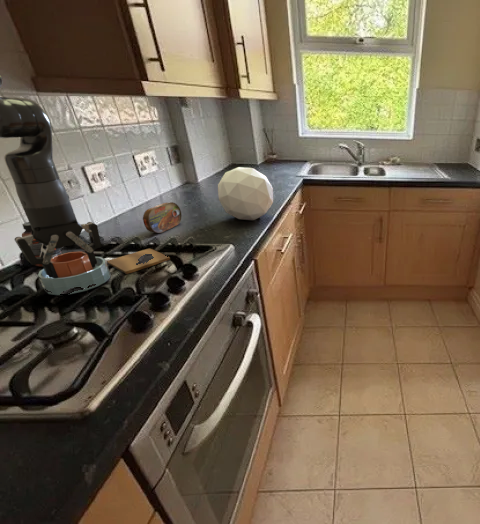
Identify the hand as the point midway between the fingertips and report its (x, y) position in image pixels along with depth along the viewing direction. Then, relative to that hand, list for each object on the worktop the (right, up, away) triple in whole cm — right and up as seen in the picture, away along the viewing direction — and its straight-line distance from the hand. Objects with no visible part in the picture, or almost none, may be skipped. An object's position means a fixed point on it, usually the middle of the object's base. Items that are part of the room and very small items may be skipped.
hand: (74, 271), depth 77 cm
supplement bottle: (-17, +2, +11) cm, 20 cm away
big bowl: (0, -3, +2) cm, 3 cm away
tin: (-1, +14, +37) cm, 40 cm away
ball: (+23, +19, +50) cm, 58 cm away
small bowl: (0, -2, +1) cm, 2 cm away
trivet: (+6, +2, +13) cm, 15 cm away
